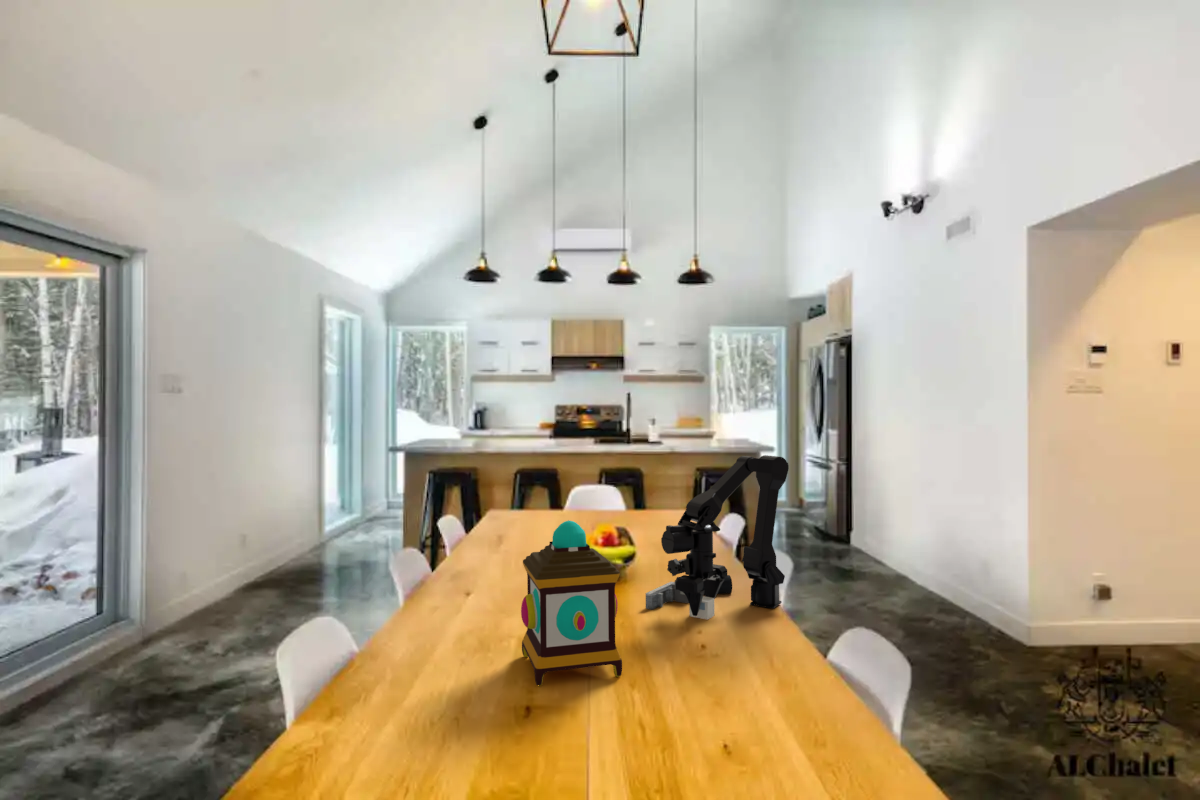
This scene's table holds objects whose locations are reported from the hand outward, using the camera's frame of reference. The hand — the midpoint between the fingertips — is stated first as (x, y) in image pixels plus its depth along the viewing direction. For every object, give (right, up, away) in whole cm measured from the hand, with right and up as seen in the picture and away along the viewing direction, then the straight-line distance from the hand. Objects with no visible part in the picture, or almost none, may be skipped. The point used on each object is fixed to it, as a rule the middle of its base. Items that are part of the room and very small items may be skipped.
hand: (702, 611), depth 175 cm
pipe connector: (+3, -2, +24) cm, 24 cm away
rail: (-9, -1, +12) cm, 15 cm away
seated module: (-3, -1, +14) cm, 14 cm away
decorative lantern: (-32, -2, -33) cm, 46 cm away
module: (0, -1, 0) cm, 1 cm away
